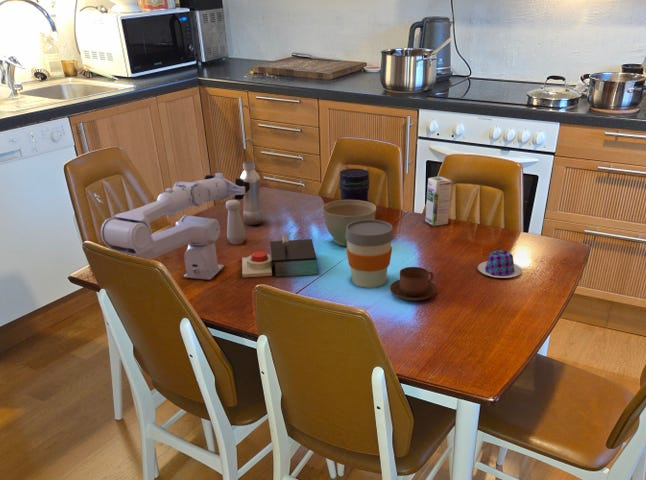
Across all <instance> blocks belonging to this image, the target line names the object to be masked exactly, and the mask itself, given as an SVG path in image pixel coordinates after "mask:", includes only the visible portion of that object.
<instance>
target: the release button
mask: <svg viewBox="0 0 646 480" xmlns="http://www.w3.org/2000/svg"><path fill="white" fill-rule="evenodd" d="M267 254H268V252H266V251H264V250H258V251H257V250H256V251H254V252H252V253H251V254H250V255H251V256H252V261H253V262H264V261H267V260H268V258H267Z"/></svg>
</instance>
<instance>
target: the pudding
mask: <svg viewBox="0 0 646 480" xmlns="http://www.w3.org/2000/svg"><path fill="white" fill-rule="evenodd" d="M477 270H478V272H480V273H482V274H483V275H485V276H489V277H492V278H501V279H502V278H503V279H508V278H513V277H514V278H515V277H517V276H519V275H521V274H522V272H523V269H522V267H521V266H519V265H518V264H516V263H515V262H514V255H513V254H512V253H511V252H510V251H507V250H503V249H500V250H498V249H497V250H494V251H492V252H490V253H489V256H488V260H487V261H483V262H481V263H478V265H477Z"/></svg>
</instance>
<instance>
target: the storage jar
mask: <svg viewBox="0 0 646 480" xmlns="http://www.w3.org/2000/svg"><path fill="white" fill-rule="evenodd" d="M369 175H370V172H369V171H368V170H367V169H364V168H346V169H342V170H340V171H339V182H338V183H339V190H340V200H360V201H366V202H369V203H370V200H369V190H370V176H369Z"/></svg>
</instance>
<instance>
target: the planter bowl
mask: <svg viewBox="0 0 646 480" xmlns="http://www.w3.org/2000/svg"><path fill="white" fill-rule="evenodd" d="M322 213H323V220H324V221H323V222H324V224H325V227H326V230H327V231H328V233H329V234H330V236H331V237H332V238H333V242H334V244H336V245H338V246H342V247H347V240H346V239H345V235H346V226H347V225H348V224H349V223H351V222H354V221H358V220H376V213H377V206H376V205H375V204H374V203H372V202H370V201H369V202H366V201H360V200H341V199H339V200H334V201H330V202H327V203H325V204H324V205H323V206H322Z"/></svg>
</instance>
